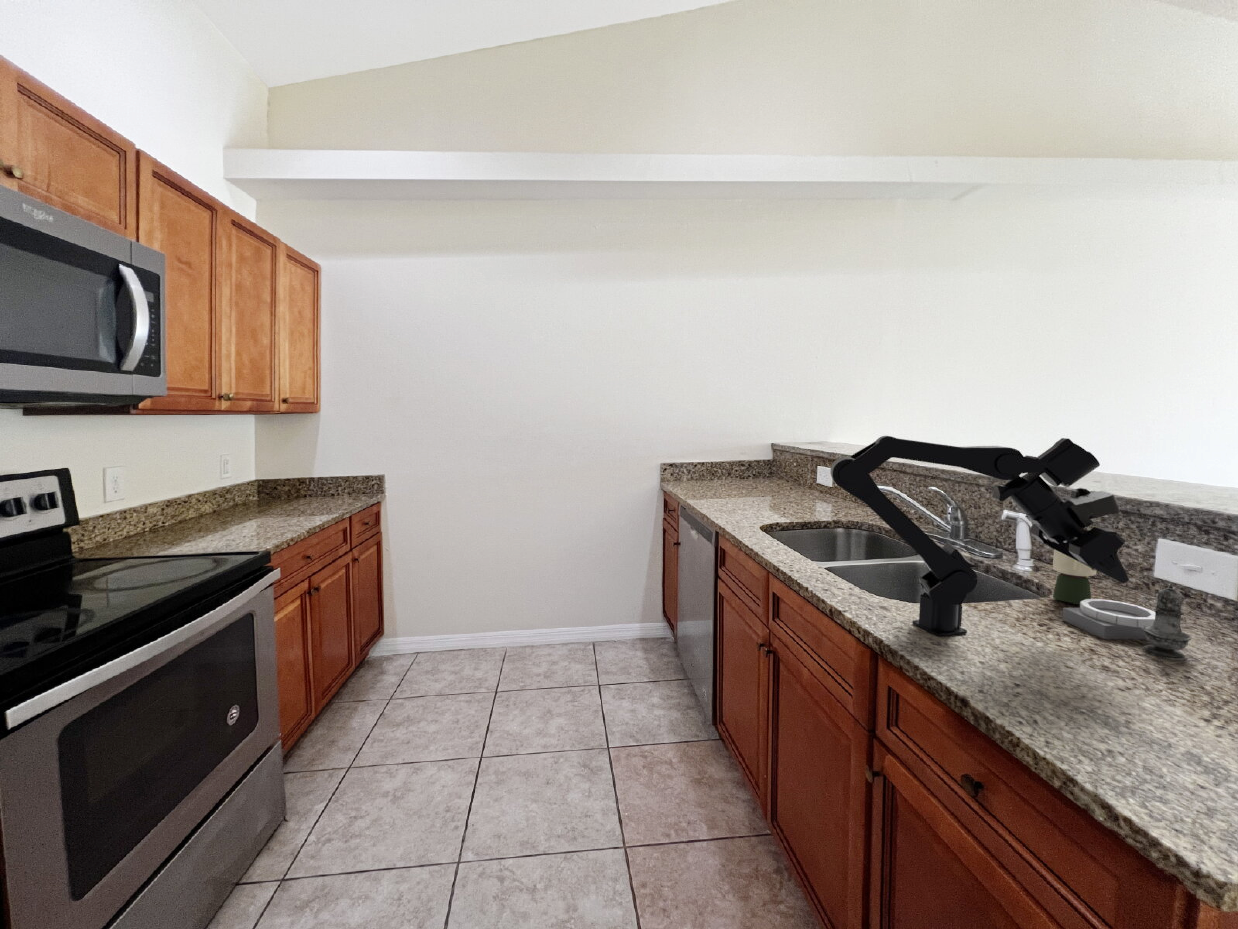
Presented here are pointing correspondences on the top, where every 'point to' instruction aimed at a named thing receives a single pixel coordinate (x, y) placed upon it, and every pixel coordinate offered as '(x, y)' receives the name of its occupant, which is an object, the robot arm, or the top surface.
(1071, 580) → the character mug
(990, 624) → the top surface
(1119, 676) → the top surface
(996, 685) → the top surface
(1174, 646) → the grey stone finial
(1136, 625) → the faceted bowl on plate
